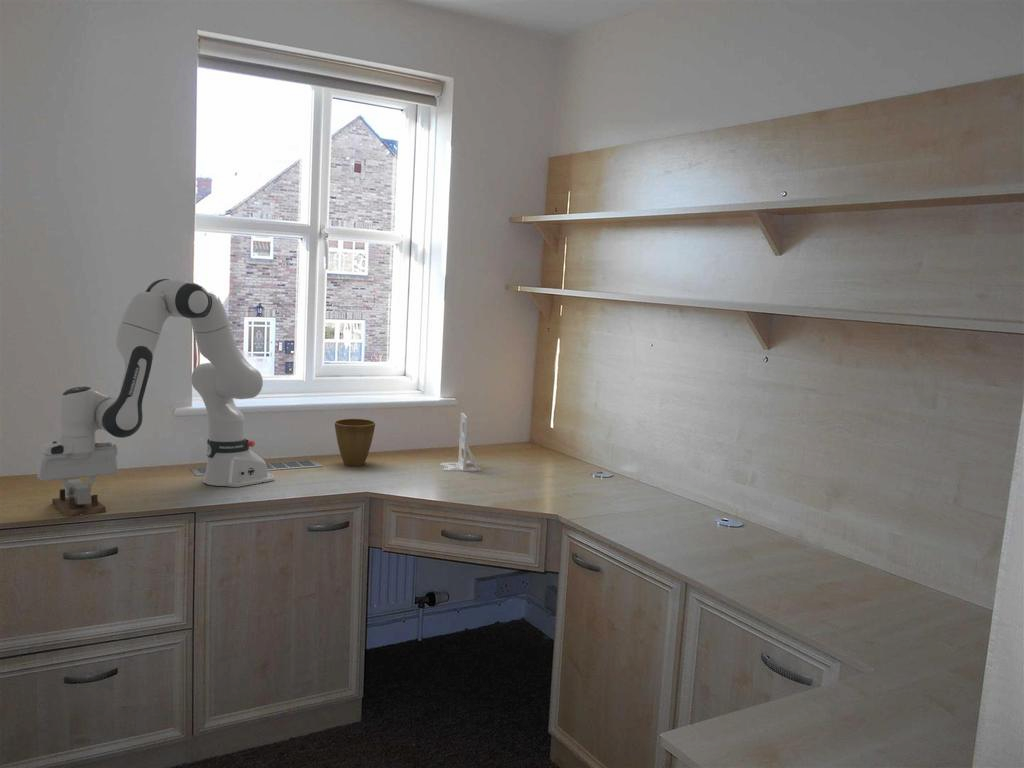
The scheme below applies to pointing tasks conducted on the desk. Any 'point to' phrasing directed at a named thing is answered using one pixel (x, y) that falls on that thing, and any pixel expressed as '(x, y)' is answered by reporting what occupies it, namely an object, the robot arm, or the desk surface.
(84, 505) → the footed brown board
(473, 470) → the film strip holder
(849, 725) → the desk surface
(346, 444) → the plant pot
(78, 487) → the grey rectangular block
